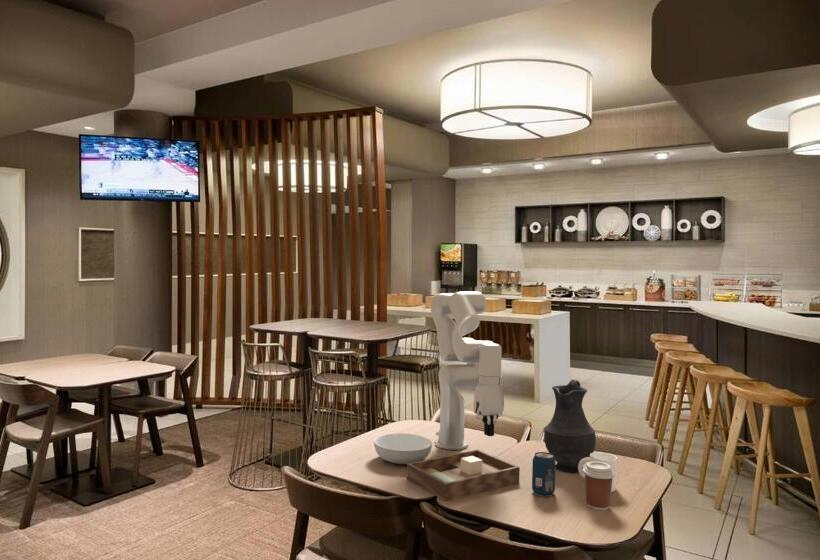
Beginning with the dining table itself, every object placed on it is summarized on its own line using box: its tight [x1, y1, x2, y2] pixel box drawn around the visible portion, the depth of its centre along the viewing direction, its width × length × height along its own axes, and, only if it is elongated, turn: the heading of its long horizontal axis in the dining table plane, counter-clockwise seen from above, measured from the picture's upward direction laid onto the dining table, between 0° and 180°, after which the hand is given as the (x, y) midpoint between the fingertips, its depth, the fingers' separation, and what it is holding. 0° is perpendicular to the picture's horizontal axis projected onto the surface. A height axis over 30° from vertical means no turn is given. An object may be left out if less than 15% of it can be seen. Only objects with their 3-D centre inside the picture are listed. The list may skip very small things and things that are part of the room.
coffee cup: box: [583, 461, 615, 511], centre depth 169 cm, size 9×9×12 cm
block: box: [461, 456, 482, 475], centre depth 189 cm, size 5×5×4 cm
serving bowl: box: [373, 432, 433, 465], centre depth 207 cm, size 21×21×7 cm
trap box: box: [406, 449, 520, 502], centre depth 187 cm, size 30×21×5 cm
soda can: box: [531, 451, 557, 498], centre depth 178 cm, size 7×7×12 cm
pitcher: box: [543, 379, 597, 474], centre depth 202 cm, size 17×21×30 cm
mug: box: [578, 451, 618, 493], centre depth 184 cm, size 12×8×10 cm
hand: (489, 435), depth 192 cm, fingers closed
